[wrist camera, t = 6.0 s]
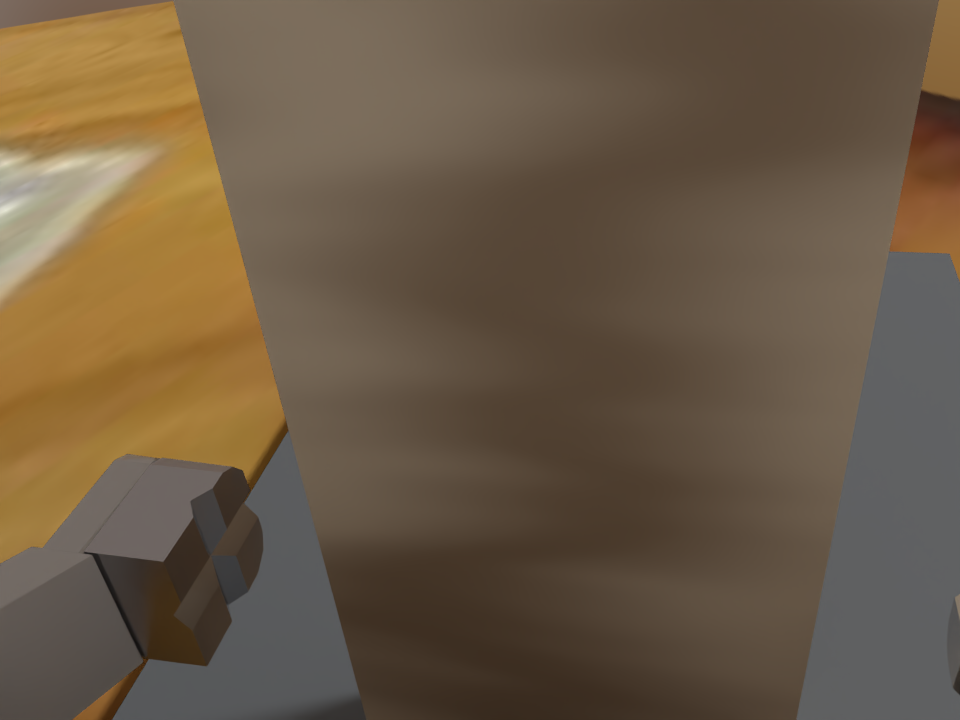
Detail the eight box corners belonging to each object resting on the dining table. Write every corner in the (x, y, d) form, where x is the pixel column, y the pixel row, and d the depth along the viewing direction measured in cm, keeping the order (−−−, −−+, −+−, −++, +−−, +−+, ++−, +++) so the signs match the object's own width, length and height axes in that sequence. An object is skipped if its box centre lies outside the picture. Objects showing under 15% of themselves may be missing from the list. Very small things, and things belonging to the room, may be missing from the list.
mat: (-48, 1029, 13) (-66, 1012, 12) (410, 251, 30) (408, 234, 29) (1326, 1418, 9) (1356, 1409, 9) (944, 271, 26) (949, 253, 26)
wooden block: (390, 809, 14) (171, -7, 7) (432, 675, 16) (292, -73, 9) (764, 880, 13) (946, -32, 6) (762, 726, 15) (897, -103, 8)
